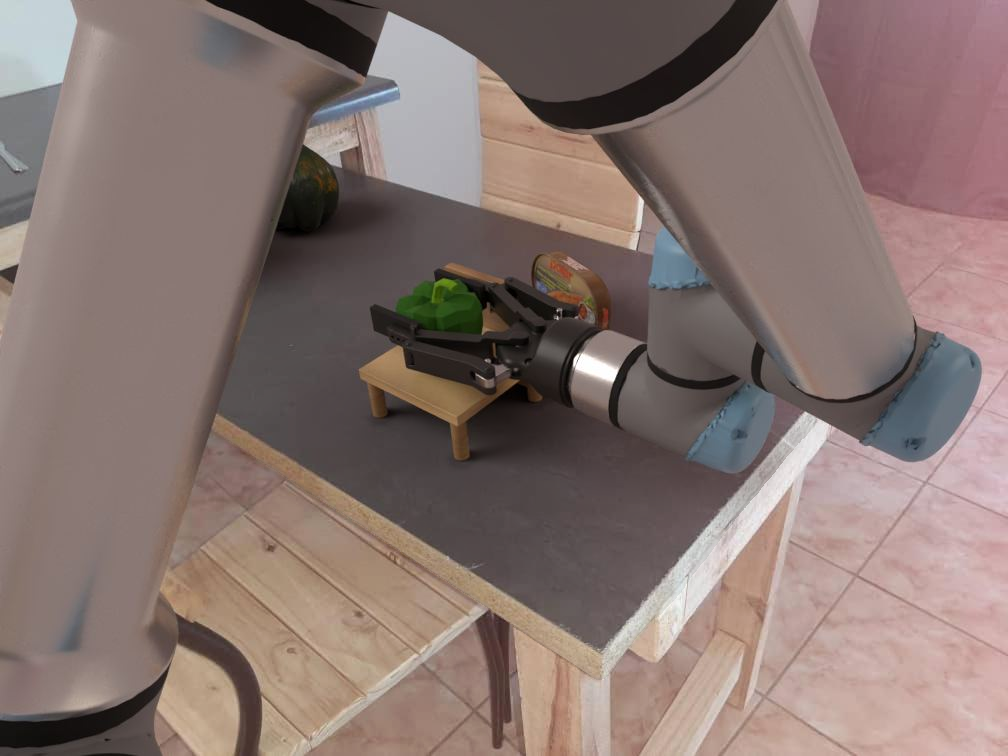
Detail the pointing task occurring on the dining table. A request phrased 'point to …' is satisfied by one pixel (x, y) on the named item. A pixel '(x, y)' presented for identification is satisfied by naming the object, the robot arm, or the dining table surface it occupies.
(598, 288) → the tin
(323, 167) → the squash
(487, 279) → the miniature wooden chair
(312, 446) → the dining table surface
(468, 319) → the bell pepper
